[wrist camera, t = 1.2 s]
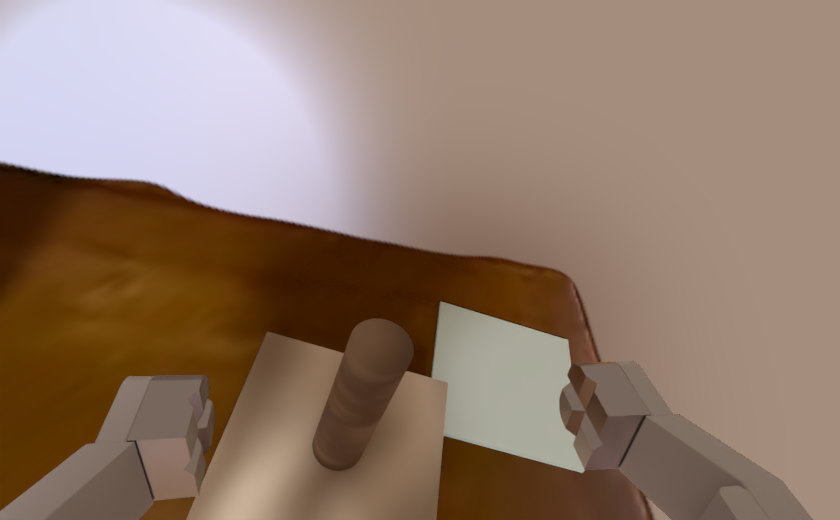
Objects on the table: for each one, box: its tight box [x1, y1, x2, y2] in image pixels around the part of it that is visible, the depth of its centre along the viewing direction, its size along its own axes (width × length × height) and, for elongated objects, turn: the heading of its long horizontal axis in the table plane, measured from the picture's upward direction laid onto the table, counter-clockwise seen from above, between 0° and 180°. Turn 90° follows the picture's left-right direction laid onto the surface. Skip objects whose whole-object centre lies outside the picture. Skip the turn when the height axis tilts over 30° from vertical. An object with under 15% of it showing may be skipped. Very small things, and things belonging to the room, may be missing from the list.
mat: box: [431, 302, 584, 473], centre depth 47 cm, size 14×14×1 cm
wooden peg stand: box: [186, 318, 448, 520], centre depth 30 cm, size 14×14×17 cm
